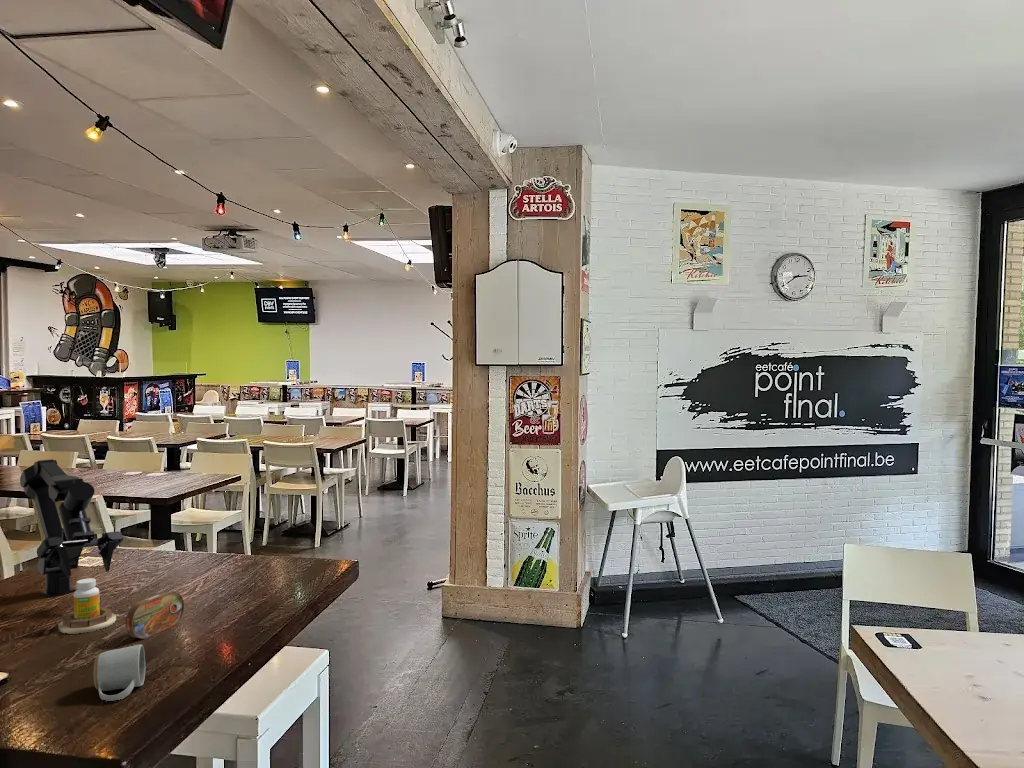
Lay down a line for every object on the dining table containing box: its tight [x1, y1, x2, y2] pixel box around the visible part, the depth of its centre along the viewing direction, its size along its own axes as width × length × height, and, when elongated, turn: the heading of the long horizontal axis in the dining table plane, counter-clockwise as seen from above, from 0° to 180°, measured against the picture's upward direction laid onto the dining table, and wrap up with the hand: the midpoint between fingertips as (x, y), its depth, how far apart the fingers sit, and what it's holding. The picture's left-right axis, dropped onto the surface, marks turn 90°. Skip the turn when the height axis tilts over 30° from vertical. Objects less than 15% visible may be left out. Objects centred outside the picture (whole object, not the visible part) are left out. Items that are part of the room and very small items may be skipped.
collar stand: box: [58, 606, 117, 635], centre depth 172 cm, size 12×12×2 cm
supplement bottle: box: [73, 577, 101, 620], centre depth 172 cm, size 5×5×10 cm
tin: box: [125, 591, 185, 640], centre depth 167 cm, size 15×3×8 cm, turn 160°
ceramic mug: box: [93, 643, 146, 702], centre depth 137 cm, size 11×8×8 cm
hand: (88, 573), depth 180 cm, fingers open, 9 cm apart
